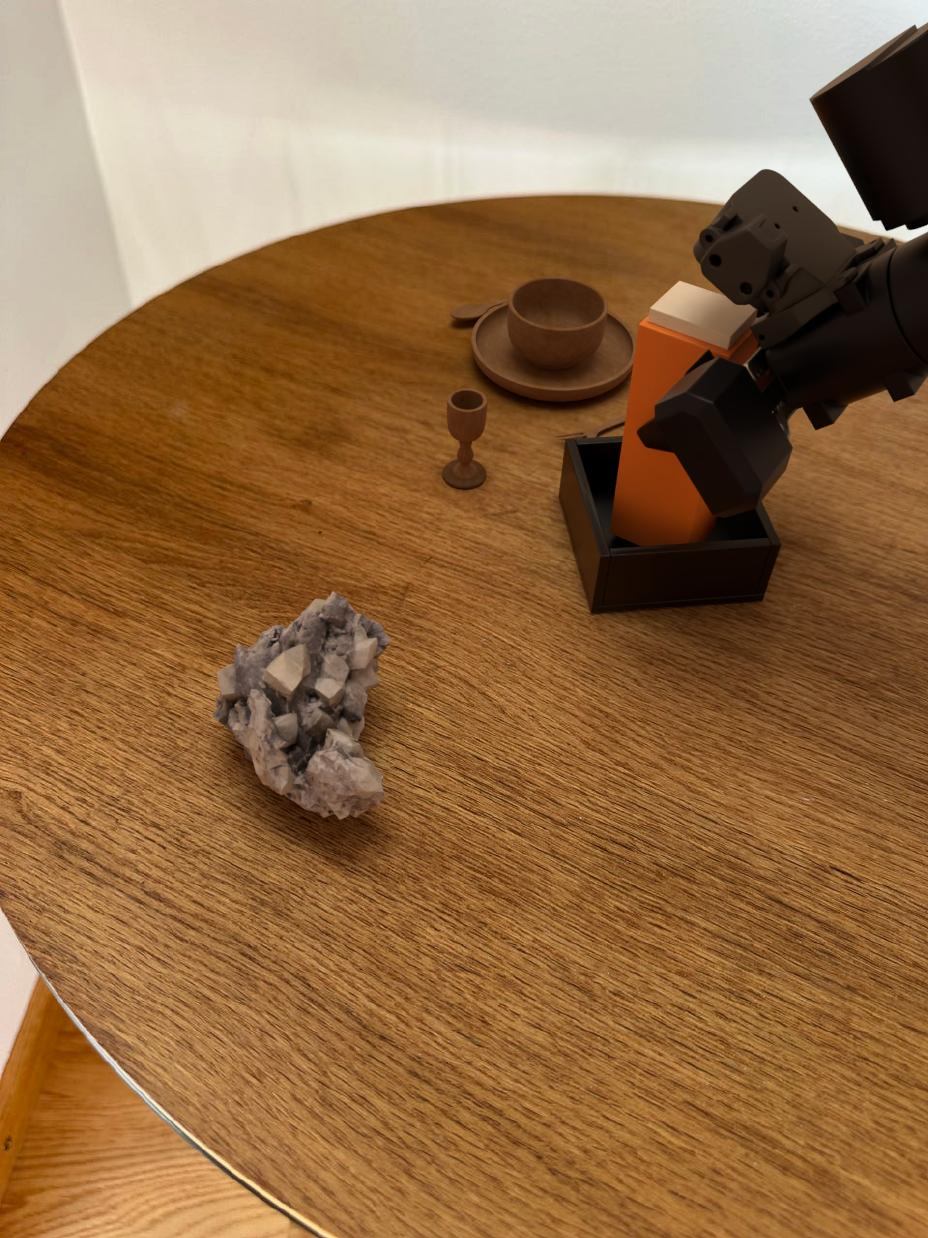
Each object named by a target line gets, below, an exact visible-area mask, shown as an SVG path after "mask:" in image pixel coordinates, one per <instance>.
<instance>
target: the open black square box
mask: <svg viewBox="0 0 928 1238" xmlns="http://www.w3.org/2000/svg"><path fill="white" fill-rule="evenodd" d="M622 441H623V435H616V436H615V435H613V436H597V437H594V438H586V437H580V438H575V439H566V440H564V442H565V443H564V448H563V455H562V456H563V457H562V465H561V473H560V480H559V488H558V489H559V490H558V499H559V503H560V507H561V510H562V511H561V512H562V514H563V518H564V521H565V525H566V528H567V533H568V536H569V540H570V543H571V546H572V550H573V554H574V558H575V561H576V565H577V569H578V573H579V576H580V579H581V583H582V587H583V591H584V594H585V598H586V601H587V605H588V609H589V612H590V614H593V615H594V614H604V613H606V614H607V613H618V612H619V613H620V612H632V611H645V610H646V611H647V610H648V611H649V610H658V609H659V610H660V609H673V608H687V607H697V606H698V607H702V606H712V605H713V606H715V605H726V604H728V605H729V604H740V603H741V604H742V603H755V602H762V601H764V597H765V595H766V591H767V588H768V586H769V582H770V580H771V578H772V575H773V572H774V568H775V565H776V563H777V559H778V556H779V553H780V550H781V547H782V541H781V539H780V538H779V535H778V533H777V530H776V529H775V527H774V525H773V522H772V520H771V517H770V515H769V513H768V511H767V510H766V507H765V505H764V503H763V500H762V501H761V502H760V504H759V505H758V506H757V507H756V508H755V509H752V510H748V511H745V512H742V513H739V514H735V515H732V516H729V517H726V518H722V517H718V516H717V518H716V523H715V527H714V529H713V530H712V532H711V533H710V534H709V535H708V537H707V538H706V539H705V540H704V542H700V543H685V544H671V545H656V546H641V547H640V546H638V545H636V544H634V543H632V542H629V541H627V540H625V539H623V538H620V537H618V536H616V535H614V534H612V533H610V525H611V518H612V511H613V504H614V497H615V490H616V483H617V476H618V469H619V462H620V455H621V448H622Z"/></svg>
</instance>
